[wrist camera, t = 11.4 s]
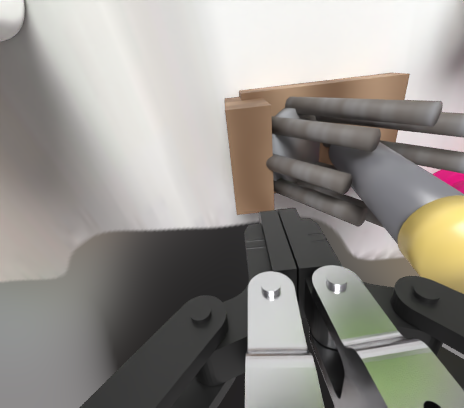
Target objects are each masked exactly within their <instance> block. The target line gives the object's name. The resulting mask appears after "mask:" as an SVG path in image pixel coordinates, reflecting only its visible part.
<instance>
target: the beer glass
mask: <svg viewBox="0 0 464 408" xmlns="http://www.w3.org/2000/svg"><path fill="white" fill-rule="evenodd" d="M24 16H25V5H24V0H0V41H5V40H8V39H10V38H12V37H14V36H15V35H16V34H17V33H18V32H19V30H20V29H21V27H22V25H23V21H24Z"/></svg>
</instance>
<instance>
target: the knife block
mask: <svg viewBox="0 0 464 408" xmlns="http://www.w3.org/2000/svg"><path fill="white" fill-rule="evenodd" d="M409 75H410V74H403V73H385V74H377V75H368V76H360V77H351V78H343V79H334V80H326V81H317V82H309V83H300V84H292V85H283V86H275V87H266V88H258V89H249V90H241V91H239V96H240V97H234V98H226V99H225V113H226V121H227V130H228V139H229V148H230V157H231V166H232V175H233V184H234V193H235V202H236V211H237V215H240V214H249V213H259V212H261V211H270V210H274V193H279V194H281V195H283V196H286V197H288V198H291V199H293V200H295V201H298V202H300V203H303V204H305V205H308V206H310V207H312V208H315V209H317V210H320V211H322V212H324V213H327V214H329V215H332V216H334V217H336V218H339V219H341V220H344V221H346V222H348V223H351V224H353V225H356V226H360V225H362V223H363V222H364V221H365V220H366V221H369V222H371V223H374V224H376V225H379V226H381V227H384V226H383V225H382V224H381V223H380V222H379V220H378V219H377V218H376V217H375V215H374V214H373V213H372V212H371V210H370V209H369V208H368V207H367V206H366V204H365V203H364V202H363V201H361V200H358V199H355V198H352V197H349V196H346V195H343V194H345V193H346V192H347V191H348V190H349V188H350V186H351V184H352V175H351V174H349V173H345V172H341V171H338V170H337V169H336V167H335V166H334V165H333V164H332V162H331V161H330V158H329V149H330V146H331V145H337V146H342V147H348V148H353V149H358V150H364V151H369V152H373V151H374V150H375V149H376V148H377V146H378V144H379V142H381V143H382V144H384V145H385V146H387V147H389V148H390V149H392V150H394V151H395V152H397V153H398V154H400V155H402V156H403V157H405V158H406V159H408V160H410V161H411V162H413V163H415V164H416V165H421V166H426V167H432V168H437V169H442V170H447V171H452V172H457V173H462V174H464V152H458V151H451V150H444V149H437V148H430V147H423V146H417V145H410V144H403V143H396V137H397V132H398V130H403V131H412V132H420V133H429V134H438V135H447V136H456V137H464V114H462V113H445V112H441V111H442V102H441V101H417V100H404V99H405V94H406V89H407V84H408V79H409ZM340 193H341V194H340Z"/></svg>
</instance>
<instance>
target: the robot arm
mask: <svg viewBox="0 0 464 408" xmlns="http://www.w3.org/2000/svg"><path fill="white" fill-rule="evenodd" d="M259 220H260V223H259V224H250V225H248V226H247V228H246V230H245V232H244V235H245V245H246V254H247V264H248V273H249V282H248V285H247V287H246V289H245V290H244V291H243V292H242V293H241V294H240V295H238V296H236V297H234V298H232V299H230V300H227V301H225V302H222V301H220V300H219V299H218V298H216V297H214V296H208V295H204V296H199V297H196V298H193V299H191V300H189V301H188V302H187V303H185V304H184V305H183V306H182V307H181V308H180V309H179V310H178V311H177V312H176V313H175V314H174V315H173V316H172V317H171V318H170V319H169V320H168V321H167V322H166V323H165V324H164V325H163V326H162V327H161V328H160V329H159V330H158V331H157V332H156V333H155V334H154V335H153V336H152V337H151V338H150V339H149V340H148V341H147V342H146V343H145V344H144V345H143V346H142V347H141V348H140V349H139V350H138V351H137V352H136V353H135V354H134V355H133V356H131V357H130V358H129V359H128V361H126V362H125V363H124V364H123V365H122V366H121V367H120V368H119V369H118V371H116V372H115V373H114V374H113V375H112V376H111V377H110V378H109V379H108V380H107V381H106V382H105V383H104V384H103V385H102V386H101V387H100V388H99V389H98V390H97V391H96V392H95V393H94V394H93V395H92V396H91V397H90V398H89V399H88V400H87V401H86V402H85V403H84V404H83V405H82V406H81V407H80V408H217V407H218V405H219V404H220V402H221V401H222V399H223V398H224V396H225V395H226V393H227V392H228V390H229V389H230V387H231V385H232V384H233V382H234V380H235V377H236V376H238V375H241V374H243V373H245V408H324V405H323V400H322V395H321V391H320V386H319V382H318V377H317V373H316V369H315V364H314V360H313V357H312V354H311V352H310V351H308V349H307V345H306V341H305V336H304V331H303V326H302V321H301V319H303V318H307V321H308V324H309V327H310V330H309V338H310V342H311V345H312V348H313V350H314V353H315V355H316V358H317V361H318V363H319V366H320V368H321V371H322V374H323V376H324V379H325V381H326V384H327V387H328V389H329V391H330V394H331V397H332V400H333V403H334V406H335V408H464V359H462V358H460V357H459V356H457V355H455V354H454V353H452V352H450V351H448V350H447V349H445V348H443V347H442V344H443V343H444V344H446V345H448V346H450V347H451V348H453V349H455V350H457V351H458V352H460V353H462V354H464V294H463V293H460V292H458V291H456V290H453V289H451V288H449V287H447V286H444V285H442V284H440V283H438V282H435V281H433V280H430V279H427V278H424V277H417V276H407V277H403V278H401V279H399V280H398V281H397V282H396V284H395V287H394V288H393V287H386V286H379V285H373V284H368V283H365V282H362V281H361V280H360V278H359V277H358V276H357V275H356V274H355V273H353V272H352V271H350V270H348V269H347V268H344V267H342V265H341V263H340V261H339V260H338V258H337V256H336V254H335V253H334V251H333V249H332V247H331V246H330V244H329V242H328V241H327V239H326V237H325V235H324V234H323V232H322V230H321V228H320V227H319V225H318V224H317V223H316V222H314V221H313V220H311V219H310V218H305V219H300V217H299V215H298V213H297V210H296V209H295V208H288V209H279V210H270V211H261V212H259Z"/></svg>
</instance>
